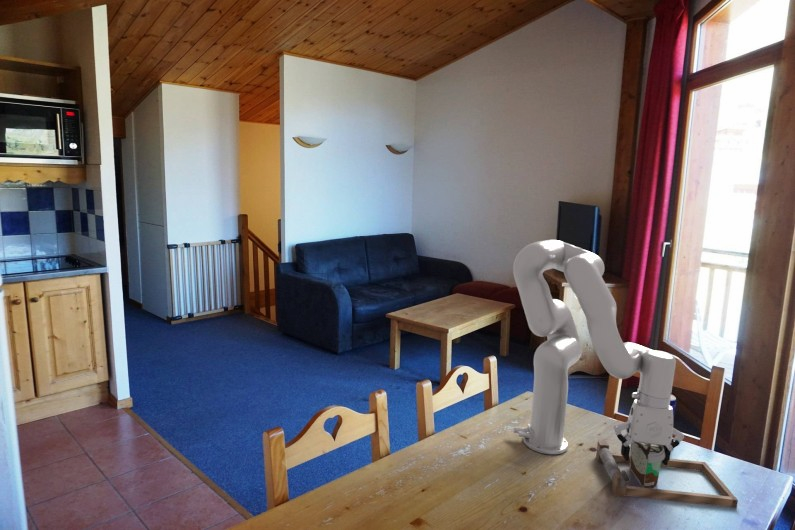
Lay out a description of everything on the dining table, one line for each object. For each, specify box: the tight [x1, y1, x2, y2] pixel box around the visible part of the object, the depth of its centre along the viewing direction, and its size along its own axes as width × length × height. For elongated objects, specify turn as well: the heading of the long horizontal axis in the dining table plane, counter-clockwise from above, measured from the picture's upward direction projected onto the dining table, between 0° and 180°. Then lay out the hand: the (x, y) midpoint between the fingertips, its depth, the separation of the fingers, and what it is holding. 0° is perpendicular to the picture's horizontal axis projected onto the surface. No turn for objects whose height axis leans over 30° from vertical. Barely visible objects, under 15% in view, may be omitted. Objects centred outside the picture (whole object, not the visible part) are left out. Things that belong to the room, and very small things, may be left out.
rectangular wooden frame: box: [595, 440, 739, 508], centre depth 136 cm, size 29×22×7 cm
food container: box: [629, 441, 665, 489], centre depth 137 cm, size 12×6×10 cm, turn 177°
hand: (644, 460), depth 137 cm, fingers open, 9 cm apart
